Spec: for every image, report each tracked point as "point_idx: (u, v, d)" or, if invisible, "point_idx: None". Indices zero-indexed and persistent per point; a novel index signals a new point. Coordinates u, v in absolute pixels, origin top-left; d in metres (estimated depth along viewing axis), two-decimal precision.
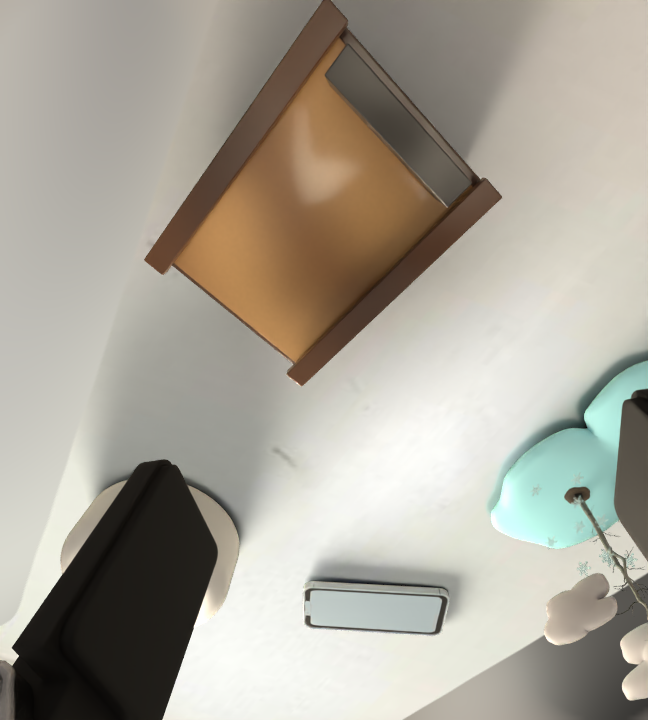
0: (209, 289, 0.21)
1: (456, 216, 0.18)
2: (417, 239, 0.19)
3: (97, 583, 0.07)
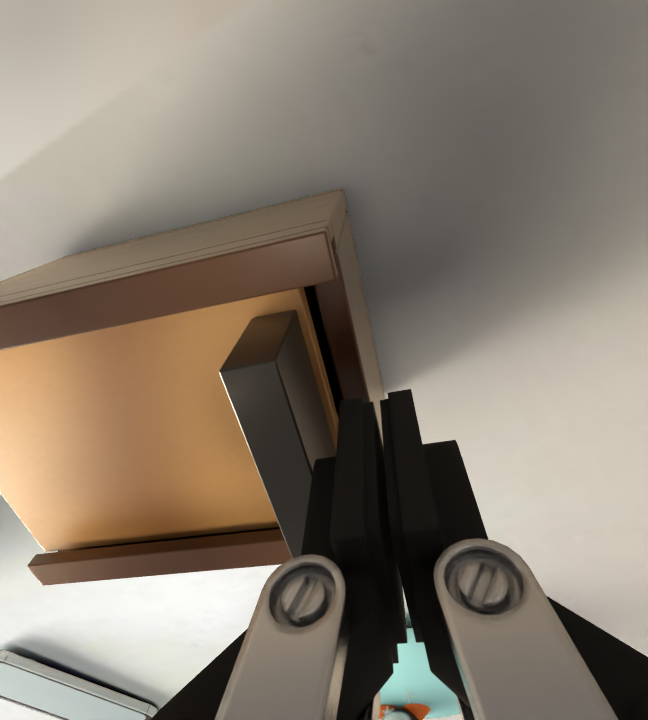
0: None
1: None
2: (267, 522, 0.14)
3: (372, 492, 0.07)
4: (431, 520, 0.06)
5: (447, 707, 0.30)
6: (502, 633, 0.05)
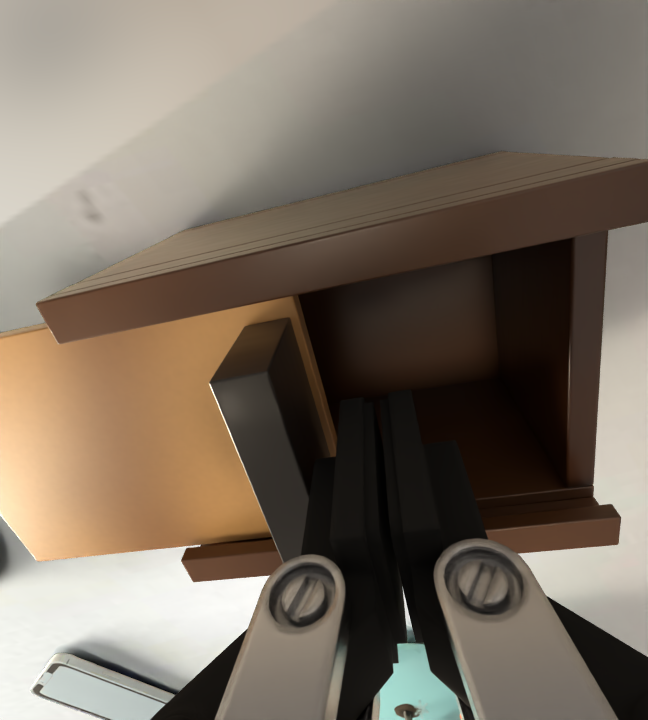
0: None
1: (550, 531, 0.12)
2: (263, 532, 0.14)
3: (372, 491, 0.07)
4: (430, 520, 0.06)
5: None
6: (502, 633, 0.05)
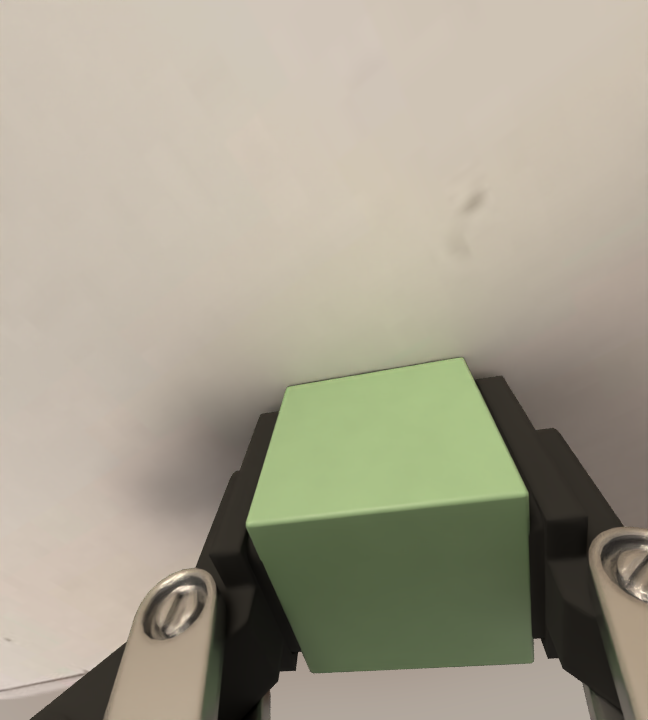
0: None
1: None
2: None
3: None
4: (575, 507, 0.06)
5: None
6: None
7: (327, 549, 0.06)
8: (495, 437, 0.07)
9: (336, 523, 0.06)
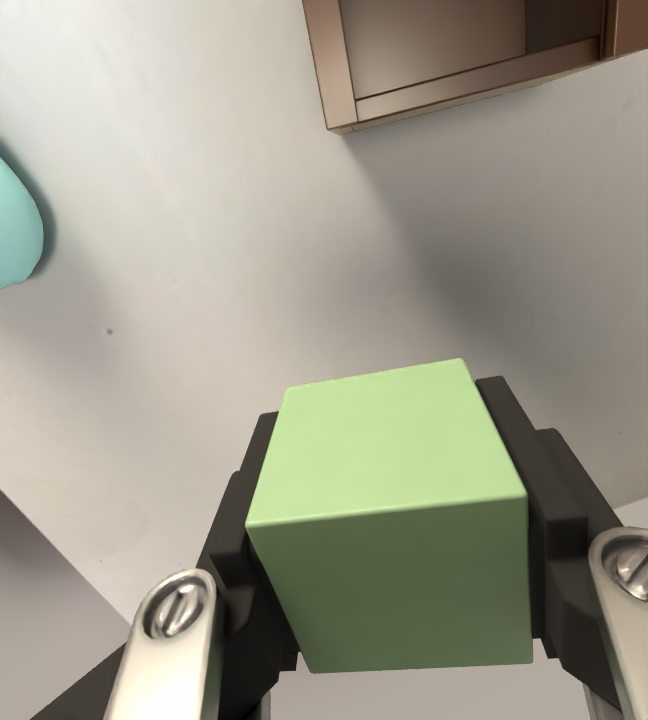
0: None
1: (339, 61, 0.13)
2: None
3: None
4: (574, 507, 0.06)
5: None
6: None
7: (326, 549, 0.06)
8: (494, 438, 0.07)
9: (335, 523, 0.06)
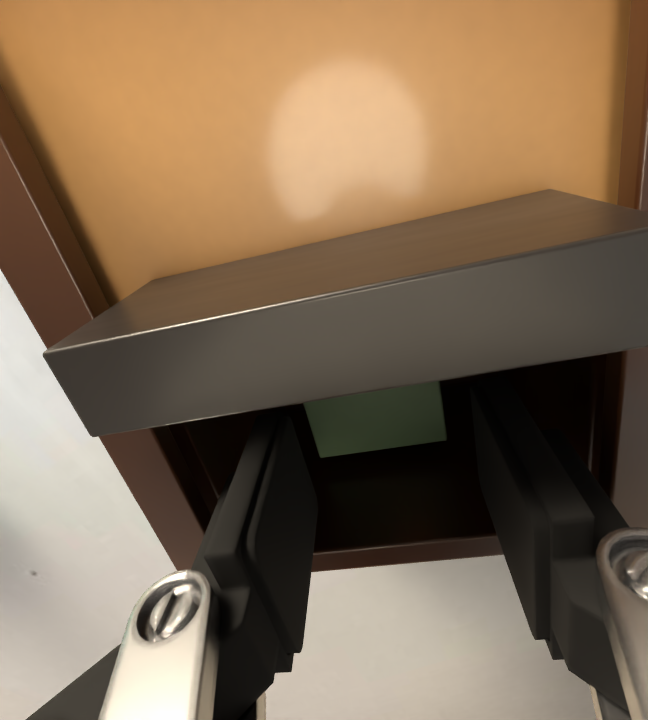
0: None
1: None
2: (64, 183, 0.06)
3: (259, 508, 0.07)
4: (581, 508, 0.06)
5: None
6: None
7: None
8: None
9: None
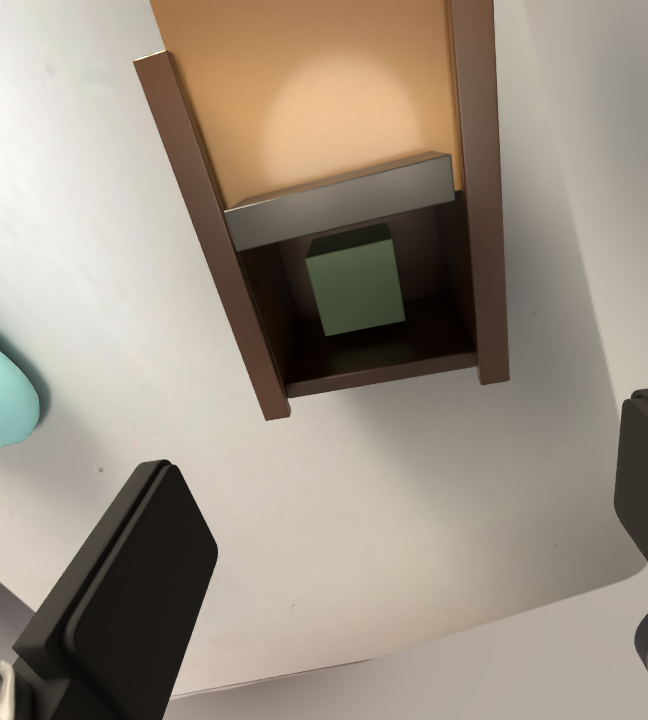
0: None
1: (271, 382, 0.17)
2: (208, 149, 0.14)
3: (97, 583, 0.07)
4: None
5: None
6: None
7: (331, 267, 0.19)
8: (387, 233, 0.19)
9: (334, 255, 0.19)
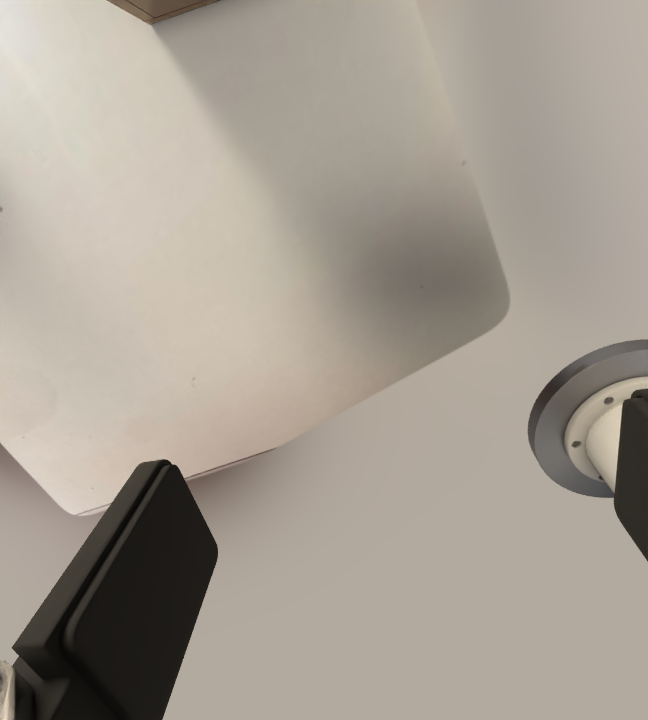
0: None
1: None
2: None
3: (97, 583, 0.07)
4: None
5: None
6: None
7: None
8: None
9: None
